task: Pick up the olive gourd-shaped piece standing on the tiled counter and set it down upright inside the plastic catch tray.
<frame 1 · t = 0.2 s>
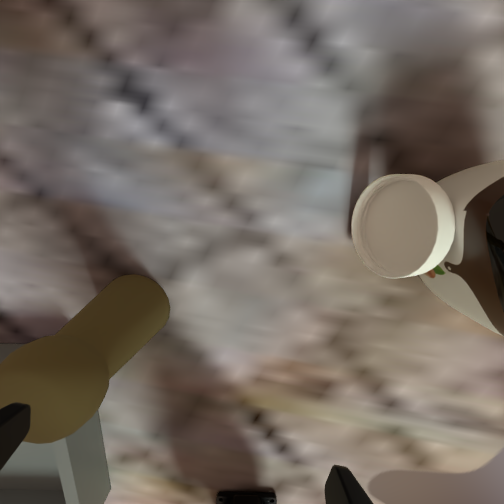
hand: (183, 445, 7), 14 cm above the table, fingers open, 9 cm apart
spread jar: (419, 231, 20), on the table
olive gourd-shaped piece: (137, 305, 22), on the table
catch tray: (12, 421, 25), on the table
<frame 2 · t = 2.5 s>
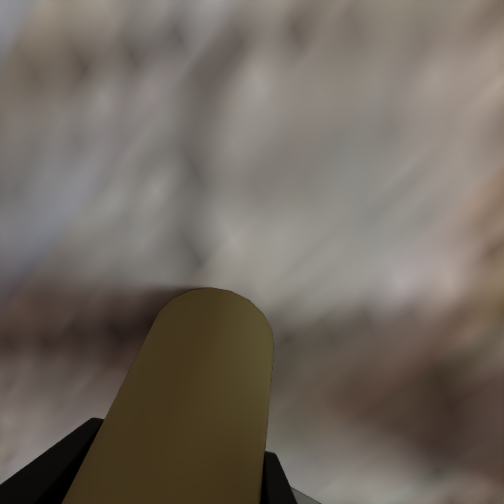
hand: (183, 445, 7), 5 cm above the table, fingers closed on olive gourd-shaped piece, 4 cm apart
olive gourd-shaped piece: (212, 343, 12), on the table, touching gripper
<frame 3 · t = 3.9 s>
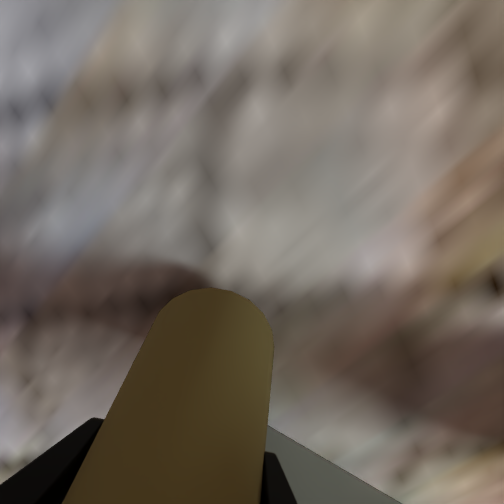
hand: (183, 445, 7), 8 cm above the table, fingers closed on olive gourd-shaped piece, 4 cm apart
olive gourd-shaped piece: (212, 343, 12), point 3 cm above the table, touching gripper
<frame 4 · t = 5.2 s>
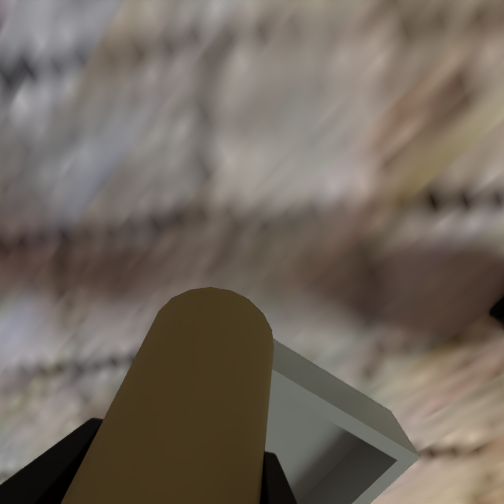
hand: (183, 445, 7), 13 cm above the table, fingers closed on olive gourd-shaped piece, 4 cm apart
olive gourd-shaped piece: (212, 343, 12), point 8 cm above the table, touching gripper
catch tray: (254, 431, 23), on the table
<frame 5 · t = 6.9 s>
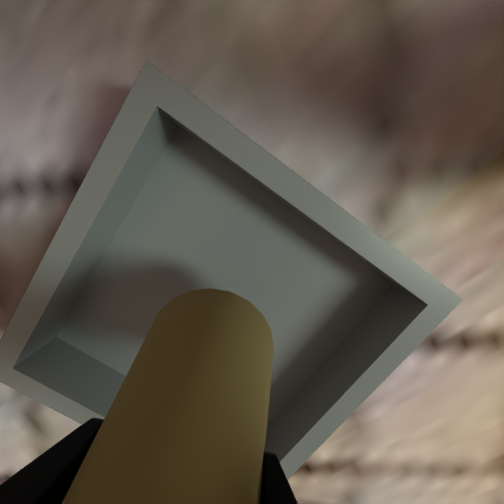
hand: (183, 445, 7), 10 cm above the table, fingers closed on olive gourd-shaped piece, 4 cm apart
olive gourd-shaped piece: (212, 344, 12), point 5 cm above the table, touching gripper
catch tray: (221, 304, 17), on the table
when the fingers open (7 cm above the table, at t = 8.1 s): olive gourd-shaped piece drops 1 cm, resting on catch tray.
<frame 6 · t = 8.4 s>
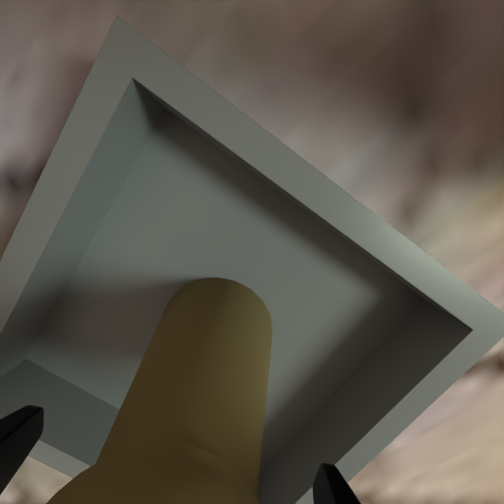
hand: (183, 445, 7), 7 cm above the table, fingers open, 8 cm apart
olive gourd-shaped piece: (217, 328, 13), point 1 cm above the table, touching catch tray
catch tray: (219, 320, 14), on the table
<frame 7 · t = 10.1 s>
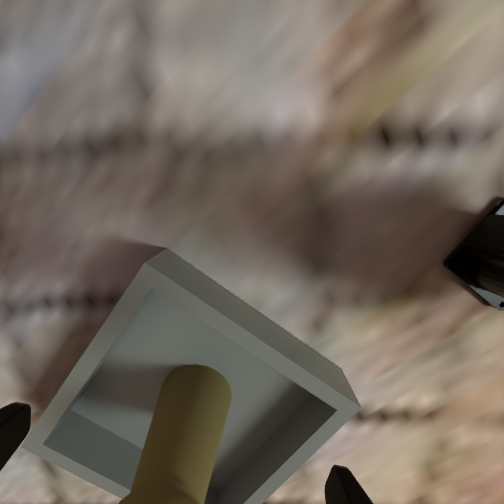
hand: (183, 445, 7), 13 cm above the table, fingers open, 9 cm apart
olive gourd-shaped piece: (196, 393, 21), point 1 cm above the table, touching catch tray
catch tray: (198, 386, 22), on the table
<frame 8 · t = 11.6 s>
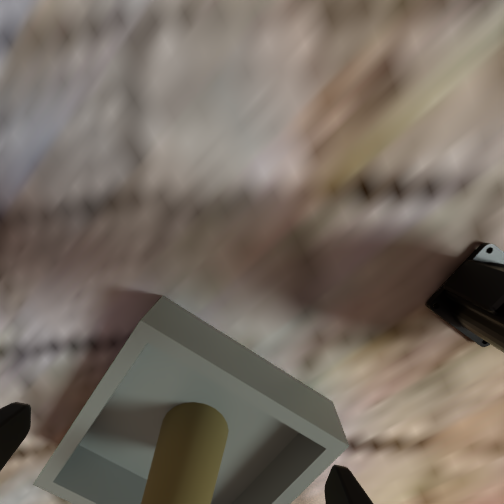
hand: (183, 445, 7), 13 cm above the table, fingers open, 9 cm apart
olive gourd-shaped piece: (195, 427, 22), point 1 cm above the table, touching catch tray
catch tray: (197, 419, 23), on the table
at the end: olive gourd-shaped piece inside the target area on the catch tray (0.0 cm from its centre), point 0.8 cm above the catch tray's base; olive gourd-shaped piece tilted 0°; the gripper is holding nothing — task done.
